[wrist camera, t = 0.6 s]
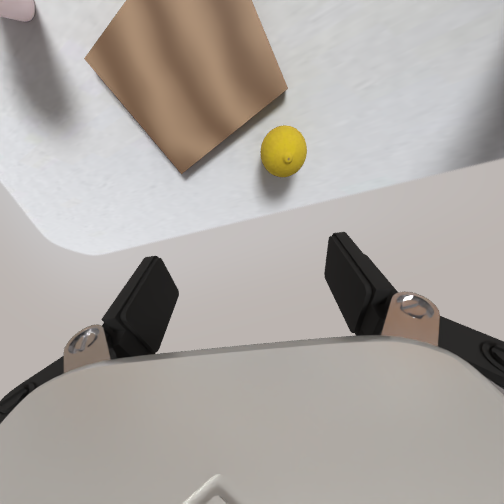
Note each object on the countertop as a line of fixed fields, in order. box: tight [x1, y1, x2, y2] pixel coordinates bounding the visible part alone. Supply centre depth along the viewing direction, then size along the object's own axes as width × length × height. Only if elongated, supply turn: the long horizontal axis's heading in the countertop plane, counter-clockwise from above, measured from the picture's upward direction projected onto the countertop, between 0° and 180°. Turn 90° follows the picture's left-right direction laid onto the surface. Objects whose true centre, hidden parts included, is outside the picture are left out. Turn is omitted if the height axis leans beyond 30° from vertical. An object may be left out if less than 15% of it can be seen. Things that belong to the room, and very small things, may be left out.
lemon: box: [261, 126, 307, 177], centre depth 24 cm, size 6×6×8 cm
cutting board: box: [84, 0, 288, 174], centre depth 22 cm, size 17×14×2 cm
